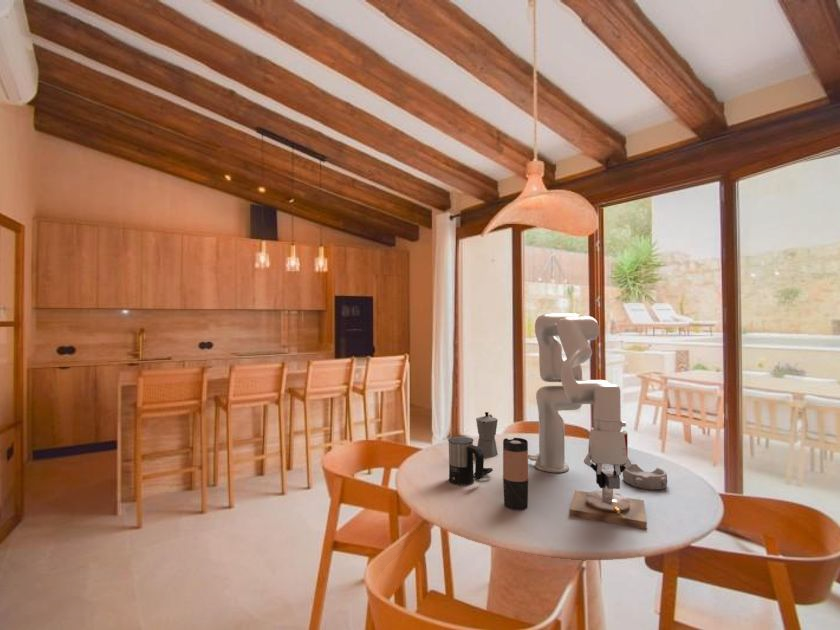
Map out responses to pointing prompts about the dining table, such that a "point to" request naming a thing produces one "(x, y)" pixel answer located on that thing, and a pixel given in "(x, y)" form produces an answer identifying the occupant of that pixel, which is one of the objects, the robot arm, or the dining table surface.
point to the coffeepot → (487, 435)
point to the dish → (645, 478)
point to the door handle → (608, 494)
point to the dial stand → (627, 518)
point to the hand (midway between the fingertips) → (607, 486)
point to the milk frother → (465, 461)
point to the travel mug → (515, 473)
